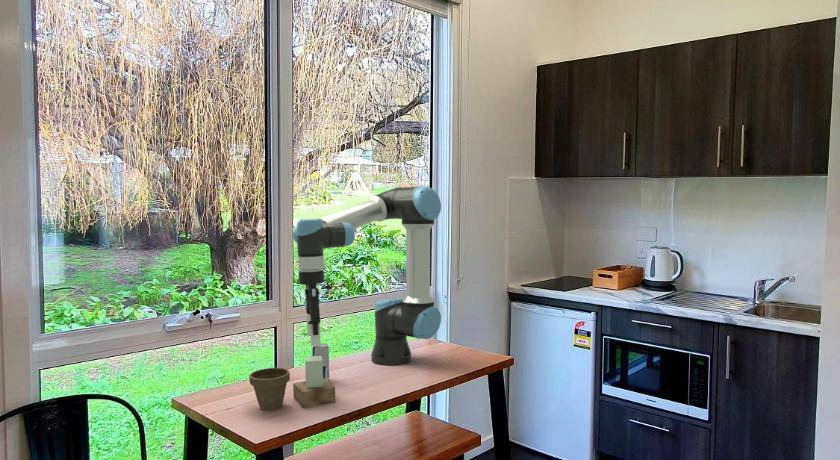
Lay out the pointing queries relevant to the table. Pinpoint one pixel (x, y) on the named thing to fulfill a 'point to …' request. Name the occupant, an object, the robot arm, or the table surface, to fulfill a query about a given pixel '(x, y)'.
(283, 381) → the flower pot
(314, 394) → the walnut block
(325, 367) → the energy drink
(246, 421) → the table surface
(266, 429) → the table surface
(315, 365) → the sage block
